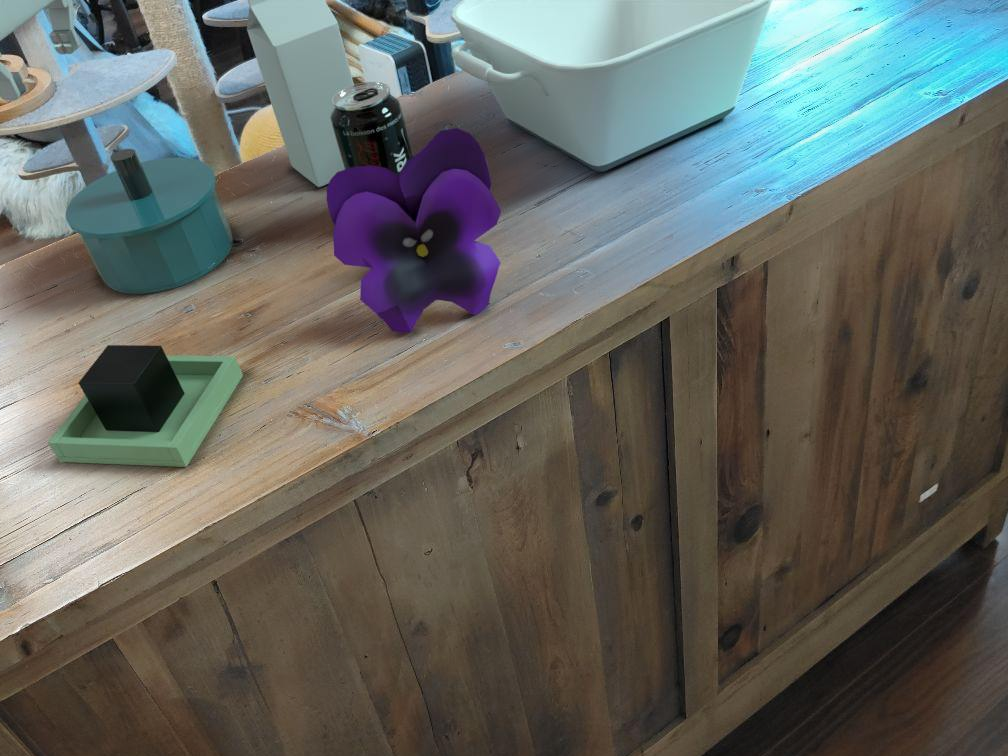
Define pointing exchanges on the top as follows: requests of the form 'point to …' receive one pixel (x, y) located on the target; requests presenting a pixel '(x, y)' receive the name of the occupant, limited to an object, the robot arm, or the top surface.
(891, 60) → the top surface
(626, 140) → the tub
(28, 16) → the robot arm
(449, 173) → the flower
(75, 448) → the tray
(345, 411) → the top surface
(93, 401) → the black block
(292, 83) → the milk carton
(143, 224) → the pot lid
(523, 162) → the top surface
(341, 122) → the beverage can
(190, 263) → the cook pot
